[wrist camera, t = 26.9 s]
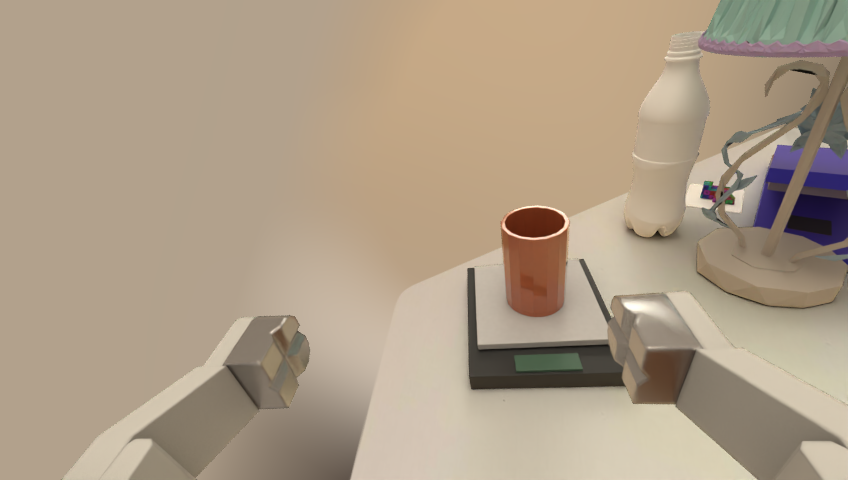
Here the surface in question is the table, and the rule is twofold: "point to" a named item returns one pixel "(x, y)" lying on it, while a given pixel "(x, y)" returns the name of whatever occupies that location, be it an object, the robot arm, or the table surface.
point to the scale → (538, 336)
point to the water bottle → (668, 141)
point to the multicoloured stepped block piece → (713, 197)
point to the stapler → (809, 197)
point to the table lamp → (820, 122)
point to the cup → (535, 259)
